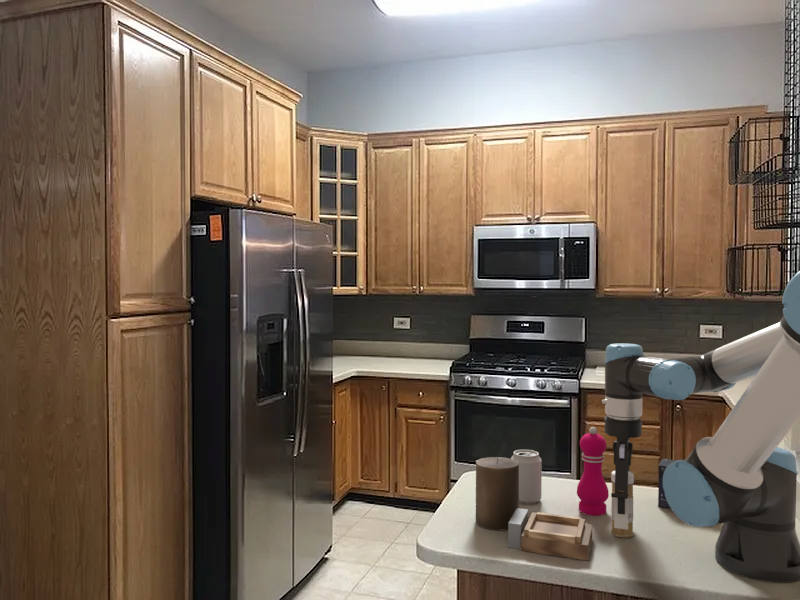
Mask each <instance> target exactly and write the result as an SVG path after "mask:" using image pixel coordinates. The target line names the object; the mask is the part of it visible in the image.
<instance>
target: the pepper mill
mask: <svg viewBox="0 0 800 600" xmlns="http://www.w3.org/2000/svg"><path fill="white" fill-rule="evenodd" d="M579 448H580V450H581V451H582V453H581V460H582V461H583V473H582V475H581V478H580V480H579V481H578V484H577V487H576V495H577V497H578V498H579V502H578V512H580V513H582V514H584V515H587V516H592V517H593V516H595V517H596V516H597V517H599V516H603V515H605V514H606V513H607V504H606V501H607V500H608V498H609V495H610V494H609V488H608V484H607V483H606V480H605V478H604V476H603V472H602V469H603V468H602V465H603V462H604V461H605V459H604V458H605V454H604V452H605V451H606V449H607V442H606V439H605V438H604V437H603V436H602V435H601V434H599V433H598V429H597V428H596V427H595V426H591V427H589V433H588V432H587V433H585V434H584V435H583V436H581V438H580V440H579Z"/></svg>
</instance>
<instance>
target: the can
mask: <svg viewBox="0 0 800 600" xmlns="http://www.w3.org/2000/svg"><path fill="white" fill-rule="evenodd" d="M510 459H513V460H515V461H517V462H518V463H519V504H521V503H523V504H522V505H534V504H537V503H538V502H539V501H540V500H541V499H542V477H543V476H542V473H543V470H542V469H543V468H542V465H543V464H542V462H543V461H542V458H541V457H540V453H539V452H538V451H535V450H533V449H517V450H514V451H513V455H511V458H510ZM536 502H537V503H536ZM533 503H534V504H533Z"/></svg>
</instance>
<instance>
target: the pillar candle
mask: <svg viewBox="0 0 800 600" xmlns="http://www.w3.org/2000/svg"><path fill="white" fill-rule="evenodd" d="M517 508H520V503H519V463H518V462H517V461H515V460H513V459H511V458H508V457H500V456H499V457H498V456H496V457H495V456H494V457H493V456H490V457H482V458H479V459H477V460H475V523H476V524H477V525H478V526H480V527H482V528H485V529H487V530H491V531H492V530H493V531H506V530H508V523H509V521H510V519H511V517H512V516H513V514H514V512H515V510H516V509H517Z"/></svg>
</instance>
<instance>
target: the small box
mask: <svg viewBox="0 0 800 600" xmlns="http://www.w3.org/2000/svg"><path fill="white" fill-rule="evenodd" d="M675 461H676V460H675V459H668V458H662V459H661V460H660V462H659V464H658V491H657V492H658V494H657V495H658V496H657V499H658V501H657V502H658V503H657V508H662V509H667V510H672V509H671V507H670V506H669V504H668V502H667V500H666V497H665V491H664V489H663V474H664V471H665V469H666V467H667V466H668V465H669V464H671V463H673V462H675Z"/></svg>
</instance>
